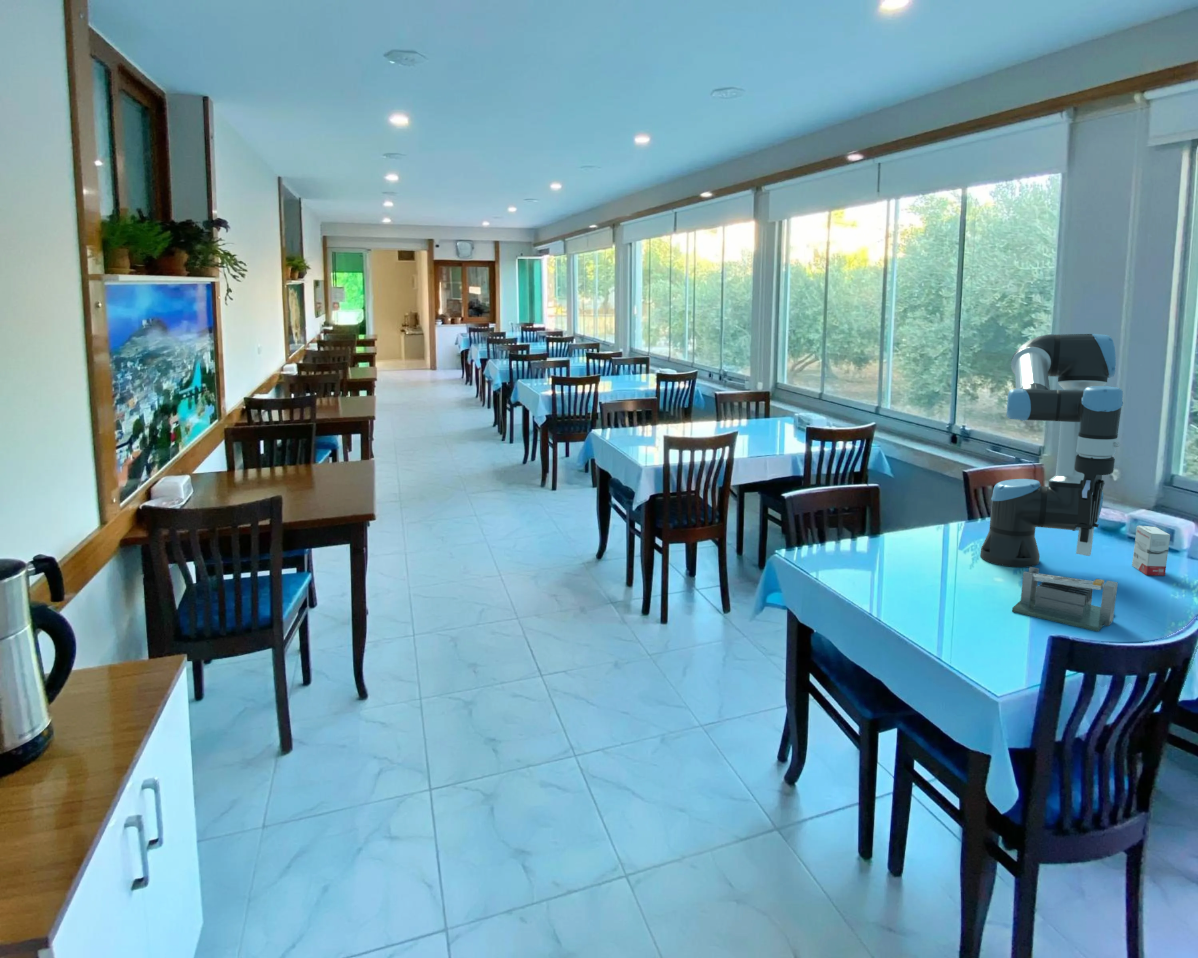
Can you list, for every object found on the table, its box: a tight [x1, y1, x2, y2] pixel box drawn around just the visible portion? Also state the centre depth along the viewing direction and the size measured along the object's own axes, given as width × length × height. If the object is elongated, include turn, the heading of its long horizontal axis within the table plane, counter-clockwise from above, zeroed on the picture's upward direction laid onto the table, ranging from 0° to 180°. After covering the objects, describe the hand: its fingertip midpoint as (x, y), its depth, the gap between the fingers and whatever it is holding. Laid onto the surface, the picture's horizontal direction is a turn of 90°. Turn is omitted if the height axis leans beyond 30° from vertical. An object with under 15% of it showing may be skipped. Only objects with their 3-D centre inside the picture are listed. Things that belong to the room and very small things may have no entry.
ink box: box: [1131, 525, 1171, 577], centre depth 210 cm, size 9×5×12 cm, turn 168°
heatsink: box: [1011, 566, 1118, 633], centre depth 183 cm, size 19×14×10 cm
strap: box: [1031, 572, 1105, 591], centre depth 183 cm, size 16×3×2 cm, turn 45°
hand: (1083, 553), depth 179 cm, fingers closed
